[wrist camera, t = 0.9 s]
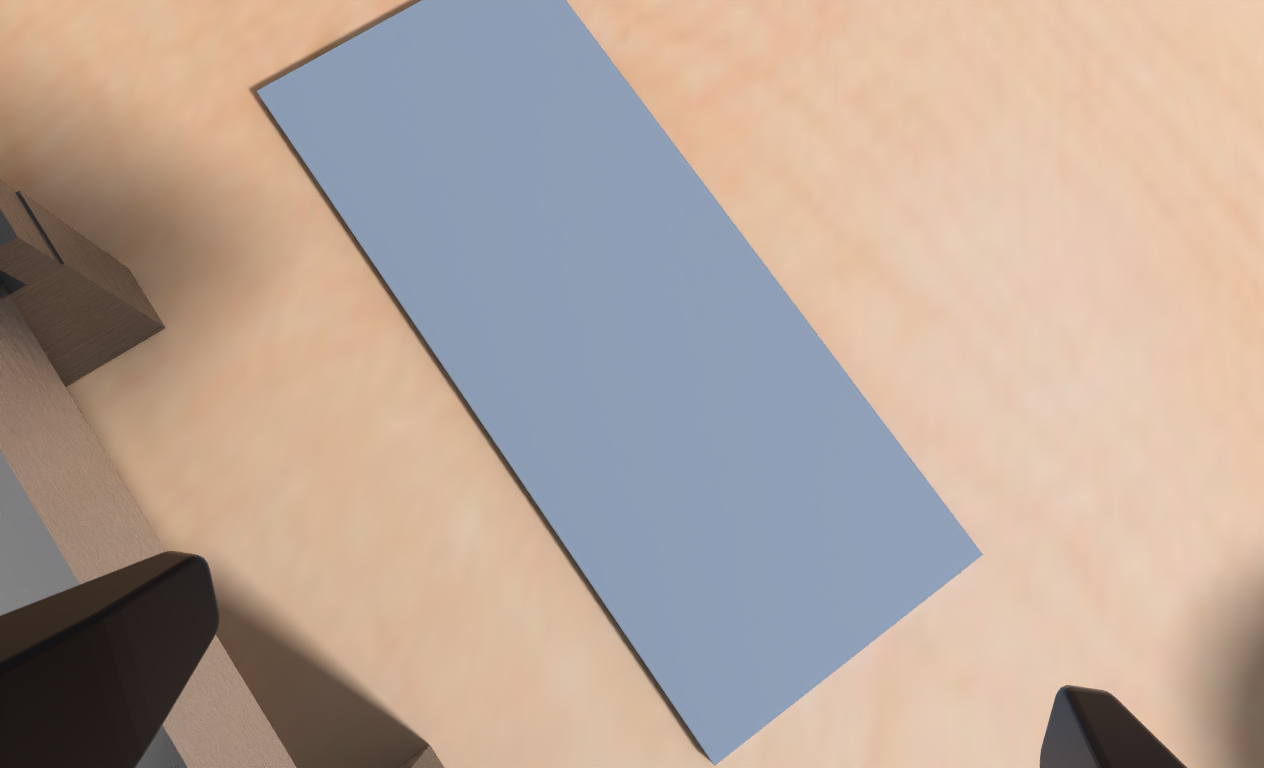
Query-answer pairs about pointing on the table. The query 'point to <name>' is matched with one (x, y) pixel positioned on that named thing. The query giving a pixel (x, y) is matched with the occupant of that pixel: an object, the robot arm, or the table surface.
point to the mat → (624, 352)
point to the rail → (99, 549)
